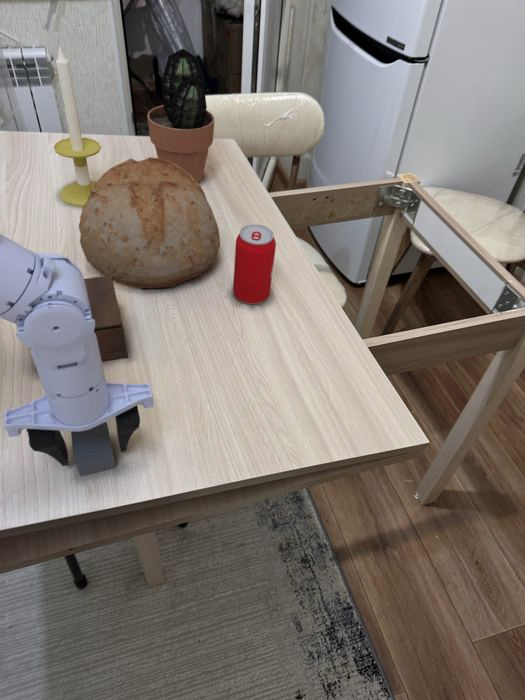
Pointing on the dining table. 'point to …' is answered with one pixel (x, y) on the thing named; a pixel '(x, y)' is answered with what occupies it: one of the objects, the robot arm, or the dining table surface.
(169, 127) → the potted plant
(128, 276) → the bread
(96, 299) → the box
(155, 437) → the dining table surface
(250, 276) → the beverage can
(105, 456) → the block
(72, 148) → the candle
